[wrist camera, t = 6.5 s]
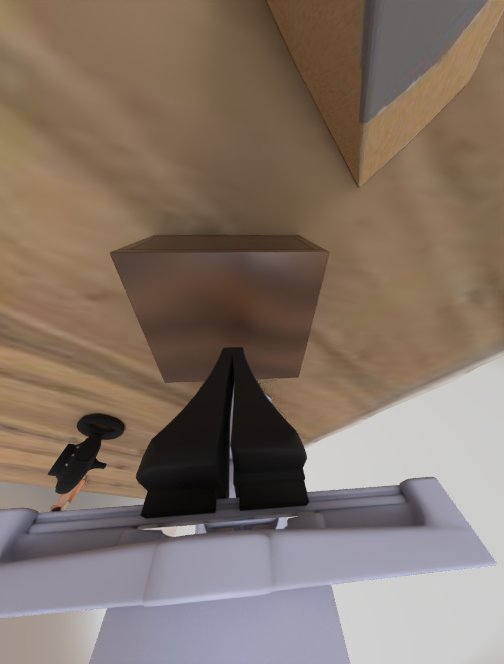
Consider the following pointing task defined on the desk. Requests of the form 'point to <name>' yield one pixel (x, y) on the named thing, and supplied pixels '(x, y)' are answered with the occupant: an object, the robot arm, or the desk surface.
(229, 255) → the lid
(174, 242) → the walnut box
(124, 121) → the desk surface
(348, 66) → the sandwich container
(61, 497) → the grandmother figurine
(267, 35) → the desk surface
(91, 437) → the webcam
